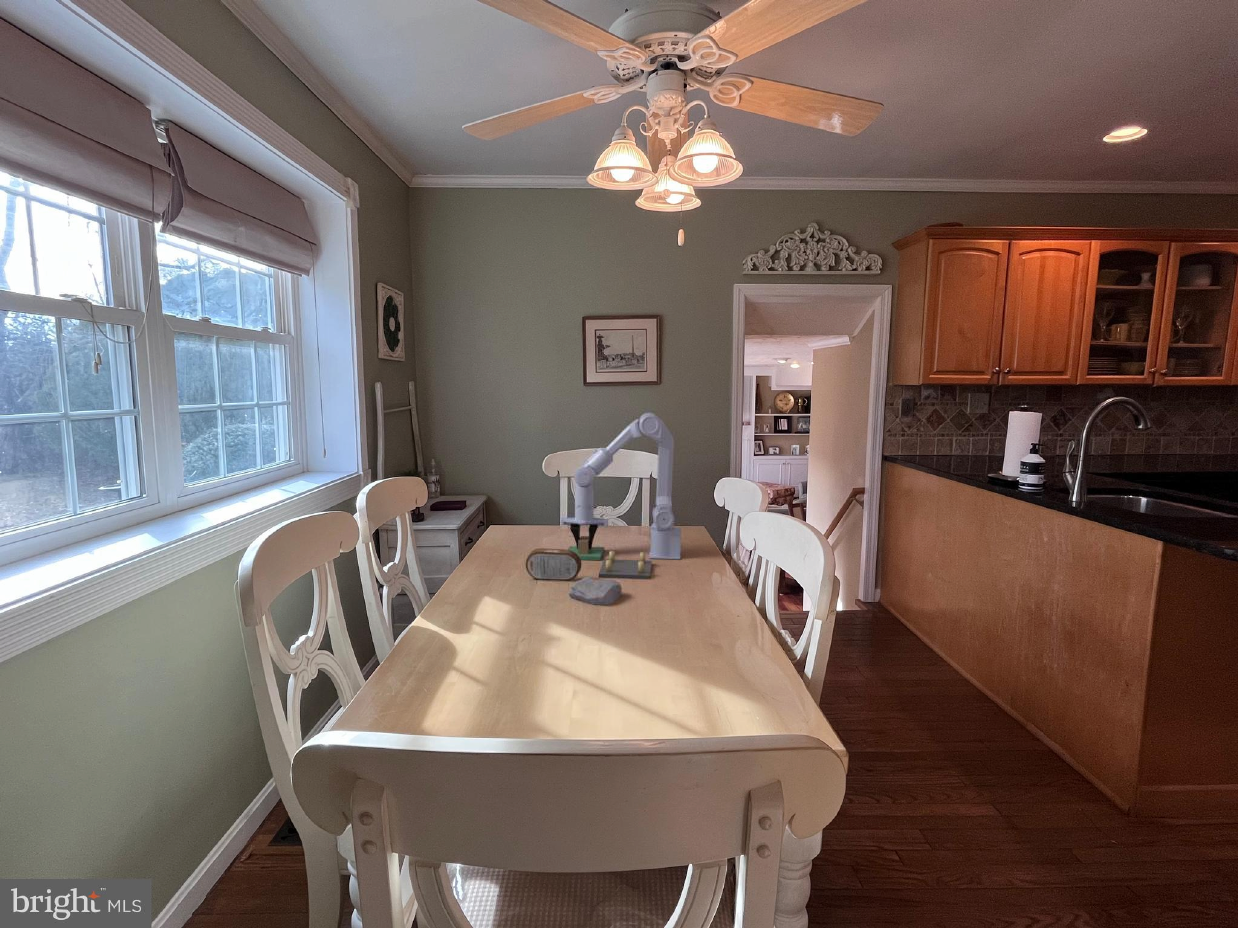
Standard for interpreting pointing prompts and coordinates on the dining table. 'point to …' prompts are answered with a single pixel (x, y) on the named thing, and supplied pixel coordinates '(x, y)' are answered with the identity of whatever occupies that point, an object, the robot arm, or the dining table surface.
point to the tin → (553, 564)
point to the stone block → (595, 591)
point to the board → (591, 554)
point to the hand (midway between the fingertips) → (584, 548)
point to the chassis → (626, 567)
